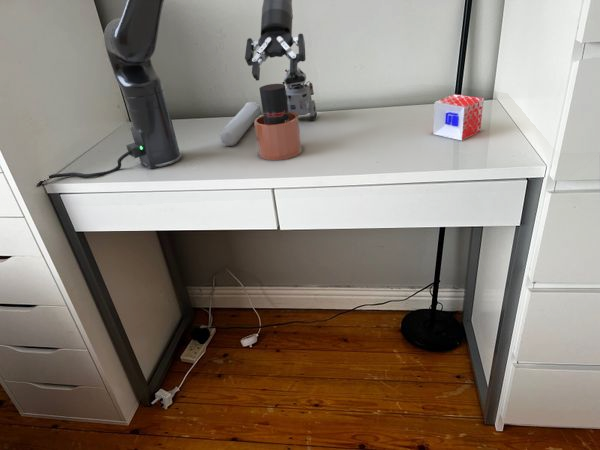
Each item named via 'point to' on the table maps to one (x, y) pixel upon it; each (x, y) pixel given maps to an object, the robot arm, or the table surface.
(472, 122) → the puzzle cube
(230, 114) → the table surface
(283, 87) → the deodorant
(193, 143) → the table surface
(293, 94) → the figurine
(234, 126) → the tube
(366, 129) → the table surface
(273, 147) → the cup
